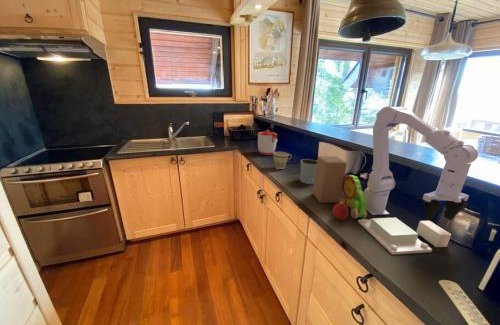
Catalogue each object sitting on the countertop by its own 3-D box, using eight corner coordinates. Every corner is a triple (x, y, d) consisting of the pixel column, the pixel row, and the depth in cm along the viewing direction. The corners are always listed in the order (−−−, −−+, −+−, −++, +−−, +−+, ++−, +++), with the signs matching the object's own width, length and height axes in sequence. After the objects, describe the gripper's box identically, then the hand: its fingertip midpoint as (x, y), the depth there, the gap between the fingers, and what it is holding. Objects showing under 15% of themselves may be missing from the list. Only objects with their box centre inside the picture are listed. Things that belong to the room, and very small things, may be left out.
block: (340, 203, 98) (348, 162, 92) (319, 203, 97) (325, 162, 91) (331, 193, 107) (337, 155, 101) (311, 193, 107) (317, 155, 101)
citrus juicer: (269, 157, 164) (271, 132, 158) (253, 153, 175) (254, 129, 169) (281, 154, 175) (283, 130, 169) (264, 150, 186) (266, 127, 180)
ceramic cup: (275, 170, 136) (276, 156, 133) (270, 165, 146) (271, 151, 143) (293, 170, 139) (295, 155, 136) (287, 165, 149) (289, 151, 146)
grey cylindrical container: (312, 186, 115) (315, 165, 112) (295, 181, 121) (297, 161, 117) (319, 180, 123) (321, 161, 119) (302, 176, 129) (304, 157, 125)
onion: (342, 215, 88) (346, 198, 85) (349, 223, 82) (353, 205, 80) (329, 215, 88) (332, 198, 85) (334, 223, 82) (338, 205, 80)
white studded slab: (358, 221, 84) (360, 212, 83) (390, 220, 86) (392, 211, 84) (392, 254, 67) (395, 244, 66) (431, 251, 69) (435, 241, 68)
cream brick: (415, 232, 79) (419, 221, 77) (425, 232, 79) (429, 220, 78) (436, 247, 71) (440, 234, 70) (446, 246, 72) (451, 234, 70)
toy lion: (366, 220, 86) (375, 185, 81) (354, 220, 85) (361, 185, 80) (346, 201, 101) (352, 171, 96) (335, 201, 100) (340, 171, 95)
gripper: (443, 188, 63) (429, 226, 68) (485, 187, 65) (469, 225, 69) (422, 178, 70) (411, 214, 74) (460, 178, 72) (447, 213, 76)
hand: (437, 219), depth 72 cm, fingers open, 7 cm apart
